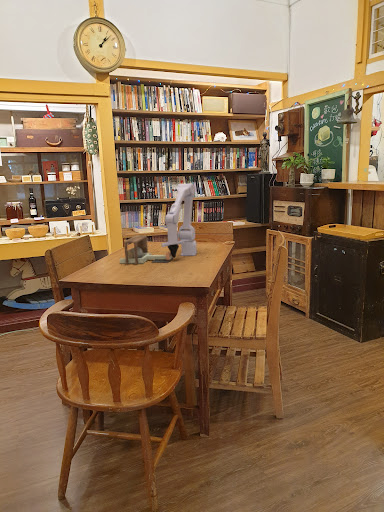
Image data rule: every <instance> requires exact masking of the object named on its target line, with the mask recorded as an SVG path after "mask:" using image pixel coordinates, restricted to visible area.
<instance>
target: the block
mask: <svg viewBox="0 0 384 512" xmlns="http://www.w3.org/2000/svg"><path fill="white" fill-rule="evenodd" d="M171 258H173V257H172V256H171V252H170V251H168V252H167V253H166V254H152V252H148V253H143V257H142V258H138V264H144V263H146V261H148V260H155V259H166V260H170V259H171ZM128 263H129V264H135V258H128ZM119 264H126V260H125V258H119Z"/></svg>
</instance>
